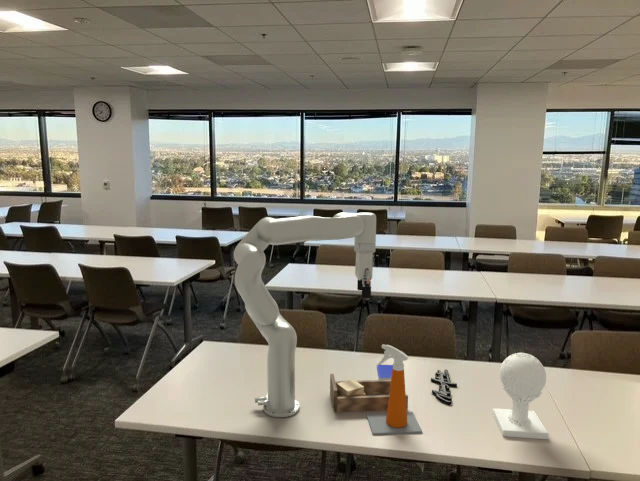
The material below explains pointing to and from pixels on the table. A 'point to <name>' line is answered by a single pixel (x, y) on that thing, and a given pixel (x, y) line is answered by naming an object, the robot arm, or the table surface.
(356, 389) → the offcut top
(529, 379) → the trophy
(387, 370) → the hard drive
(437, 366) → the table surface
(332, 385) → the wooden box
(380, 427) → the mat
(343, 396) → the offcut middle
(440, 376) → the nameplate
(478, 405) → the table surface
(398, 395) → the spray bottle
